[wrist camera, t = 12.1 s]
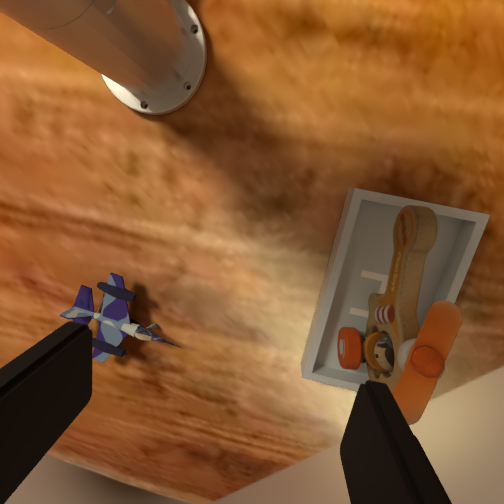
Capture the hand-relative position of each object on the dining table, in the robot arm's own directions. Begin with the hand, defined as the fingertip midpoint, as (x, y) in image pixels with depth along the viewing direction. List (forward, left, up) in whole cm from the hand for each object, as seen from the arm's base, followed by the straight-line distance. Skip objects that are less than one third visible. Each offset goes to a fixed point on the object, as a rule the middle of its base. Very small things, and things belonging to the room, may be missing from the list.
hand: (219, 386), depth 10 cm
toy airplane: (+15, -17, -27) cm, 35 cm away
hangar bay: (+4, +15, -27) cm, 31 cm away
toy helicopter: (+4, +15, -26) cm, 30 cm away
